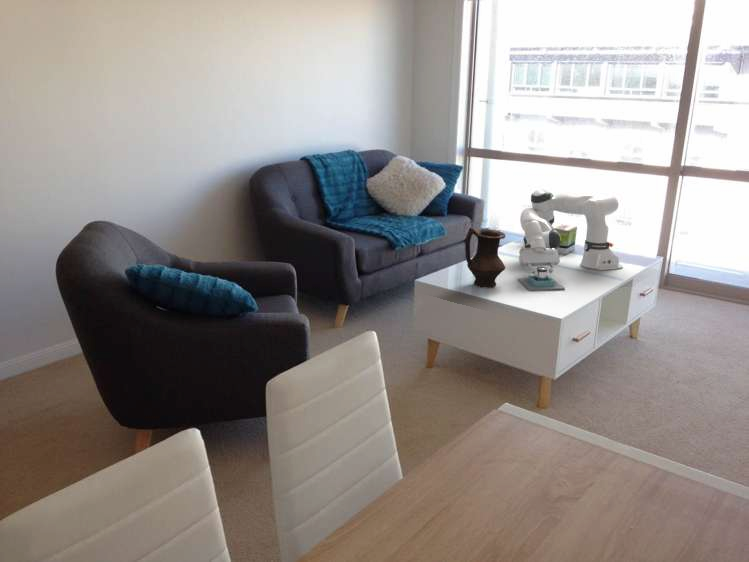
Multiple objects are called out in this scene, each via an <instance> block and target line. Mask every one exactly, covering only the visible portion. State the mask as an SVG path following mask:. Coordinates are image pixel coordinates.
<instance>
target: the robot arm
mask: <svg viewBox="0 0 749 562" xmlns="http://www.w3.org/2000/svg"><path fill="white" fill-rule="evenodd" d="M530 202H531V207H527V208H524V209H523V210H522V211H521V213H520V217H519V218H520V220H519V221H520V226H521V228H522V231H523V232H524V237H523V239H522V240H523V243H524V244H523V245H522V246H521V247H520V249H519V250H518V251H519V252H518V253H519V256H518V262H519V265H520V266H521V267H527V269H528V270H529V271H530V274H535V272H536V269H535V268H533V267H546V266H549V269H548V273H550V274H551V273H552V274H553V272H554V270H553V269H554V267H555V266H558V265H559V264H560V262H561V259H560V256H559V253H558V252H557V250H556V249H557V248H558V247H559V246H560V244H561V237H560V235H559V233H558V232H557V231H556V230H555V229H554V228H555V227H553V224H554V223H555V215H554V212H555V211H556V212H560V213H564V214H572V215H581V216H582V215H584V216H585V221H586V236H585V240H584V247H583V249H584V251H583V255H582V258H581V262H580V263H579V265H580V266H582V267H584V268H587V269H593V270H597V271H606V270H607V271H608V270H618V269H623V264H622V263H621V262H620V261H619V260H620V259H619V256H618V254H617V253H615V251H613V250H612V249H611V248H613V247H614V243H612V242H609V241H608V237H609V236H608V235H609V227H608V225H607V223H606V216H609V215H611V214H613V213H614V212H617V209H618V208H619V201H618V199H617V198H616V197H615V196H613V195H608V194H576V193H558V194H554V195H553V193H552V192H550V191H547V190H545V189H539V190H535V191H534V192H533V193H532V194H531V196H530Z"/></svg>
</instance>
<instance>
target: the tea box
mask: <svg viewBox="0 0 749 562" xmlns="http://www.w3.org/2000/svg"><path fill="white" fill-rule="evenodd" d="M553 228H554V229H555V230H556V231H557V232H558V233H559V235H560V237H561V244H560V246H559V247H558V248H557V249H556V250H557V252H558V254H563V255H567V254H569V253H570V252H572V251H574V250H575V247H576V240H577V238H576V237H577V232H578V231H577V230H578V227H577V226H575V225H574V226H573V225H567V224H561V225H558V226H556V227H553Z"/></svg>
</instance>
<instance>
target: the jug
mask: <svg viewBox="0 0 749 562" xmlns="http://www.w3.org/2000/svg"><path fill="white" fill-rule="evenodd" d="M472 235H475V236H476V238H477V245H476V247H477V249H476V253H475V254H474V256H473V257H472V258H471V239H472ZM505 238H506V234H505V233H503V232H502V231H499V230H497V229H496V230H495V229H490V228H488V229H478V230H476V229H475V228H474V227H473V226H469V228H468V232H467V233H466V236H465V243H464V247H465V249H464V250H465V251H464V252H465V259H466V263H467V264H466V265H467V268H468V270H469V271H470V272H471V273H472V275H473V277H474V281H473V285H475V286H476V285H477V286H476V287H479V286H480V287H479V288H483V287H491V288H494V287H496V286H497V283H496V282H497V281H496V280H497V278H498V276H499V275H500V274H501V273H502V272H503V271H504V270H505V269H506V265H505V264H504V262H503V261H502V260H501V258H500V257H499V253H498V252H499V247H500V242H501V239H502V240H504V239H505Z"/></svg>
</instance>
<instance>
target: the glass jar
mask: <svg viewBox="0 0 749 562" xmlns="http://www.w3.org/2000/svg"><path fill="white" fill-rule="evenodd" d="M535 276H536V281H546V278H547V276H548V267H546V266H536V275H535Z"/></svg>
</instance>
